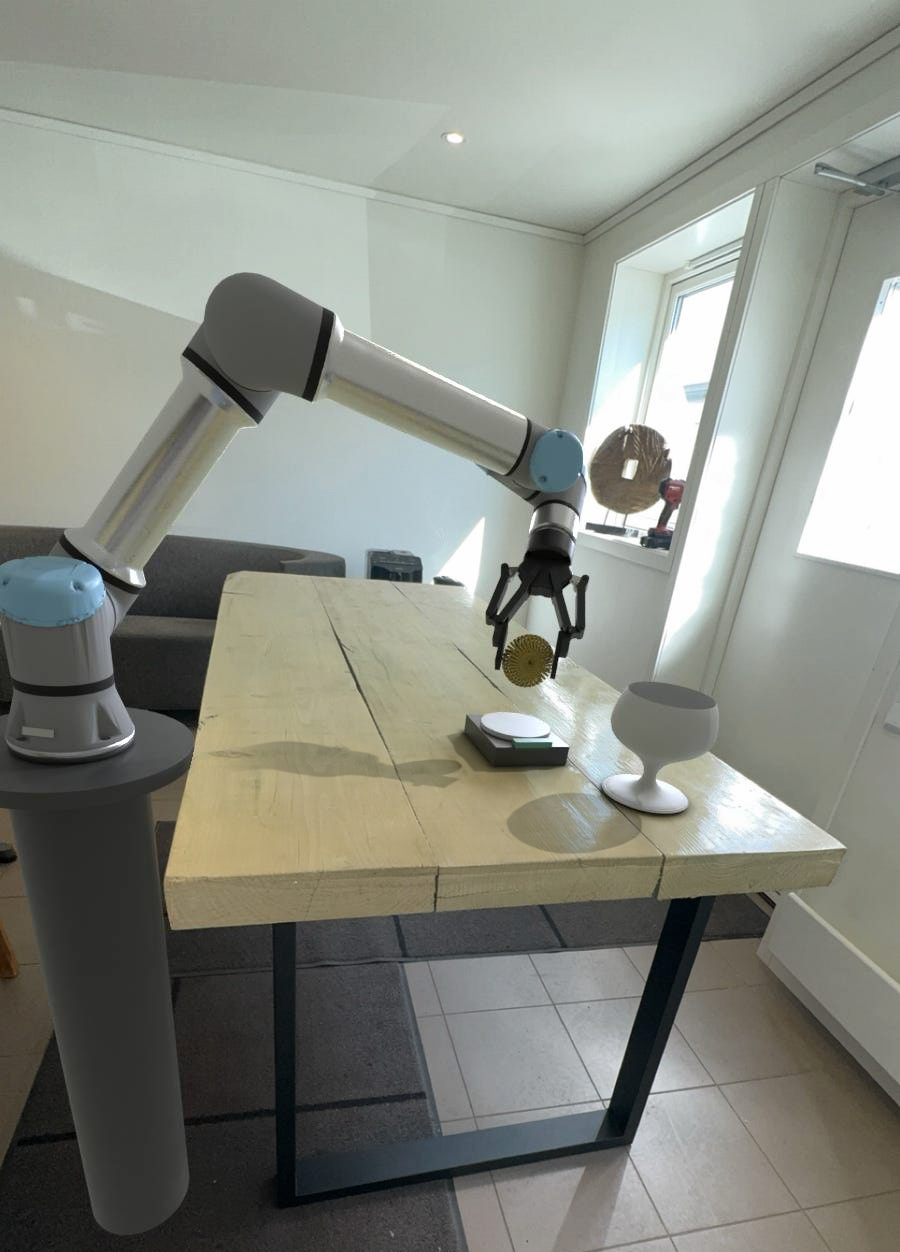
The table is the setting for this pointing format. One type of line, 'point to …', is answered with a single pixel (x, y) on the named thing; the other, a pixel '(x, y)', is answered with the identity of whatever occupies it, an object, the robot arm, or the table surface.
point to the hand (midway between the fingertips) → (525, 669)
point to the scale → (515, 739)
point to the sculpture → (527, 660)
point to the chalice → (660, 740)
